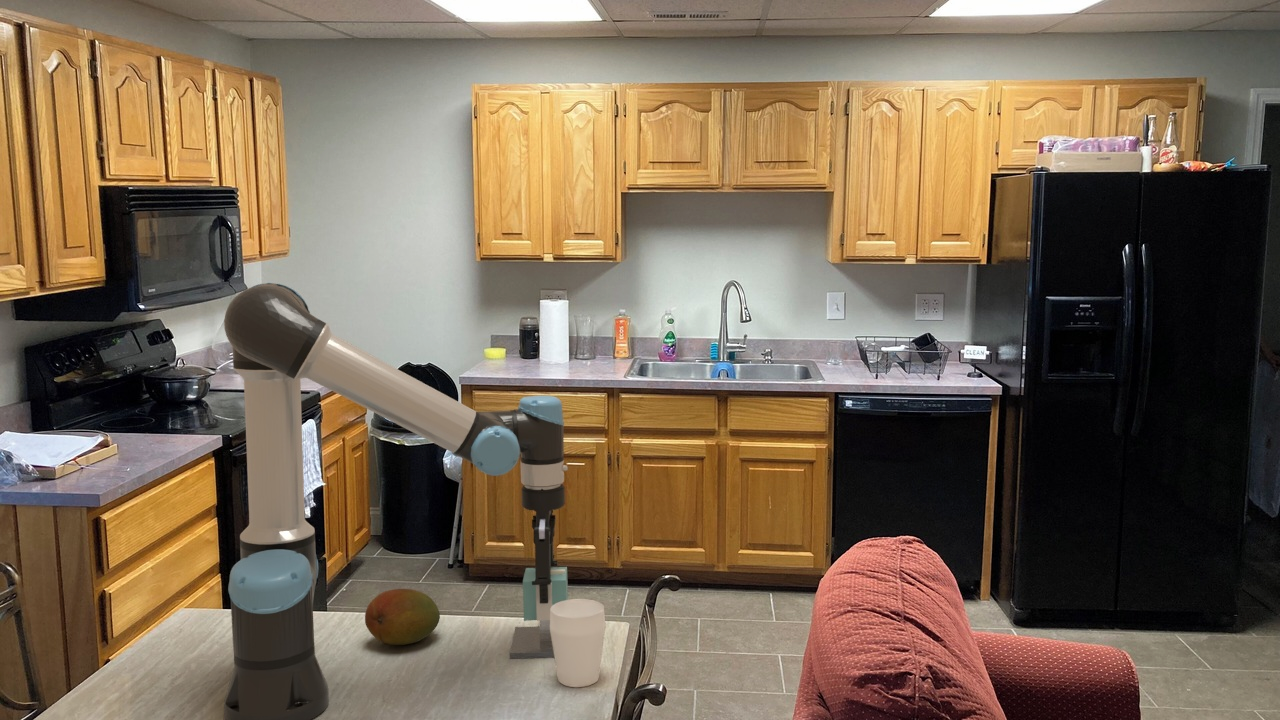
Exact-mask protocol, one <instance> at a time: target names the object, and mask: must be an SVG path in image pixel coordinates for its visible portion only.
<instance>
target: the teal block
mask: <svg viewBox="0 0 1280 720" xmlns="http://www.w3.org/2000/svg"><path fill="white" fill-rule="evenodd" d="M522 578H523V579H522V601H523V621H524V622H525V621H528V622H529V621H537V612H536V585H532V581H535V579H536V578H535V567H526V568H525V571H524V574H523V577H522ZM551 582H552V606H553V605H554V604H556V603H558V602H561V601H564V600H569V590H568V588H569V587H568V586H569V585H568V566H551Z"/></svg>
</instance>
